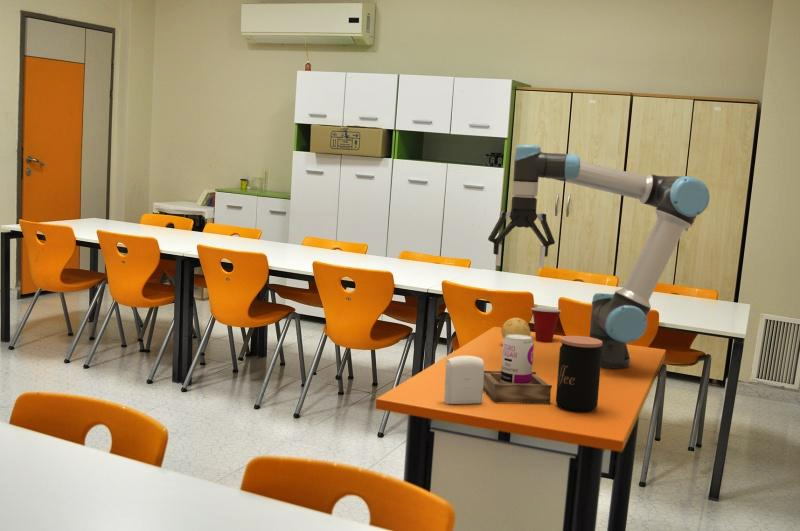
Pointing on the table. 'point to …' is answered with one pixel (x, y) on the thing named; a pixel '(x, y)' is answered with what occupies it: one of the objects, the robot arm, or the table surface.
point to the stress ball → (515, 327)
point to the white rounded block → (464, 380)
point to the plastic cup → (545, 323)
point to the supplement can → (517, 359)
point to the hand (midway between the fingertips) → (519, 266)
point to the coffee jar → (578, 373)
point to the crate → (516, 389)
